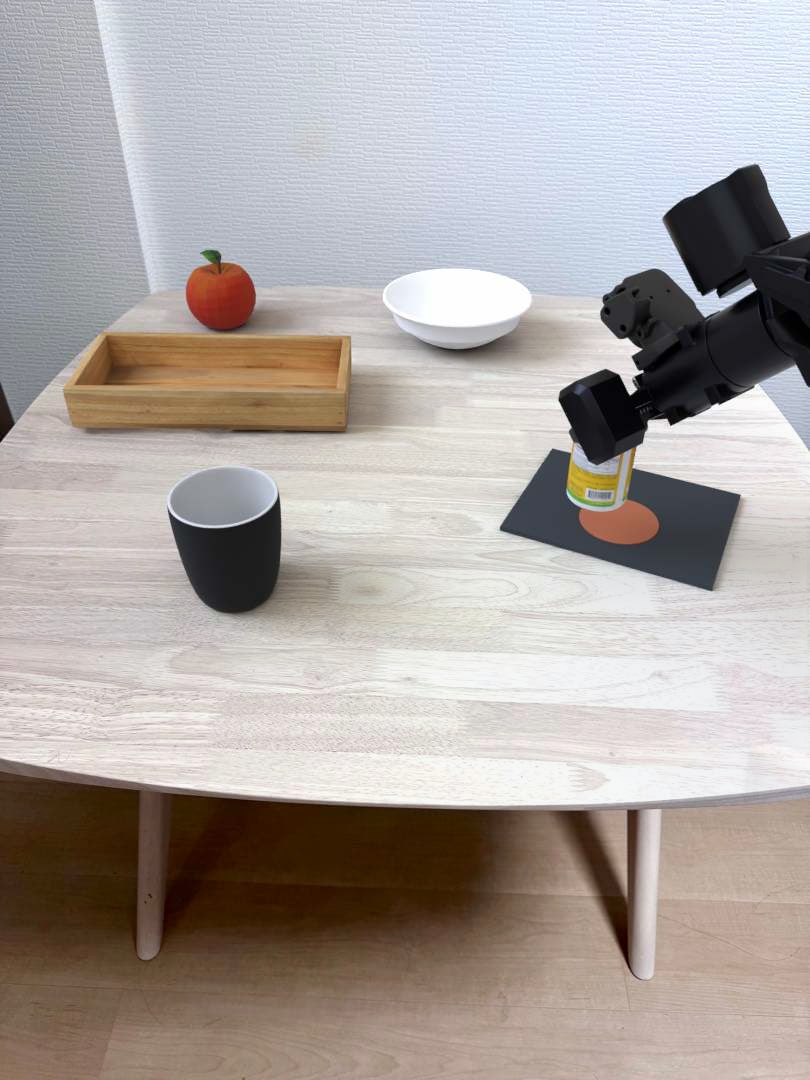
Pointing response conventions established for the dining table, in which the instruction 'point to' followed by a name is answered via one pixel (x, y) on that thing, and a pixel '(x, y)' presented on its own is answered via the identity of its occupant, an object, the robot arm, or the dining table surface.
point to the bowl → (457, 306)
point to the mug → (228, 535)
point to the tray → (212, 382)
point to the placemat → (631, 523)
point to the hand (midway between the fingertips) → (594, 426)
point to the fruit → (220, 293)
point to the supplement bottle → (599, 480)
